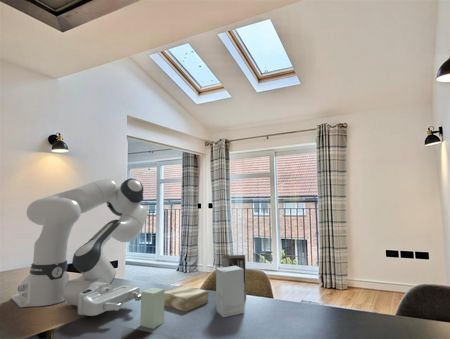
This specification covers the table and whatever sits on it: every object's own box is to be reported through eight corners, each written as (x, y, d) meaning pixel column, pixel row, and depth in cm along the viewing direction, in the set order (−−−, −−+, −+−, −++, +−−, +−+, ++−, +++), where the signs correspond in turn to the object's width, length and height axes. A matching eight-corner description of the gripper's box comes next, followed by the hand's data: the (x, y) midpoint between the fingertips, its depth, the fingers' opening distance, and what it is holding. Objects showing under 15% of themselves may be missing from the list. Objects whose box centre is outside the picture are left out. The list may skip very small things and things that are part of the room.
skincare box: (236, 308, 104) (236, 265, 106) (245, 314, 99) (244, 268, 100) (215, 312, 101) (215, 267, 102) (222, 318, 95) (222, 270, 97)
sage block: (140, 325, 89) (141, 291, 91) (151, 319, 94) (151, 287, 95) (153, 328, 87) (154, 293, 88) (163, 322, 92) (164, 289, 93)
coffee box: (246, 296, 118) (246, 254, 120) (245, 301, 111) (245, 257, 113) (223, 295, 119) (223, 254, 121) (221, 300, 112) (222, 257, 114)
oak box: (158, 304, 109) (158, 292, 110) (181, 296, 119) (181, 284, 119) (186, 312, 101) (186, 299, 101) (208, 303, 111) (208, 290, 111)
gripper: (122, 296, 111) (151, 302, 105) (73, 316, 92) (105, 324, 86) (122, 279, 111) (151, 283, 105) (74, 295, 93) (106, 301, 87)
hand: (130, 302), depth 96 cm, fingers open, 8 cm apart
